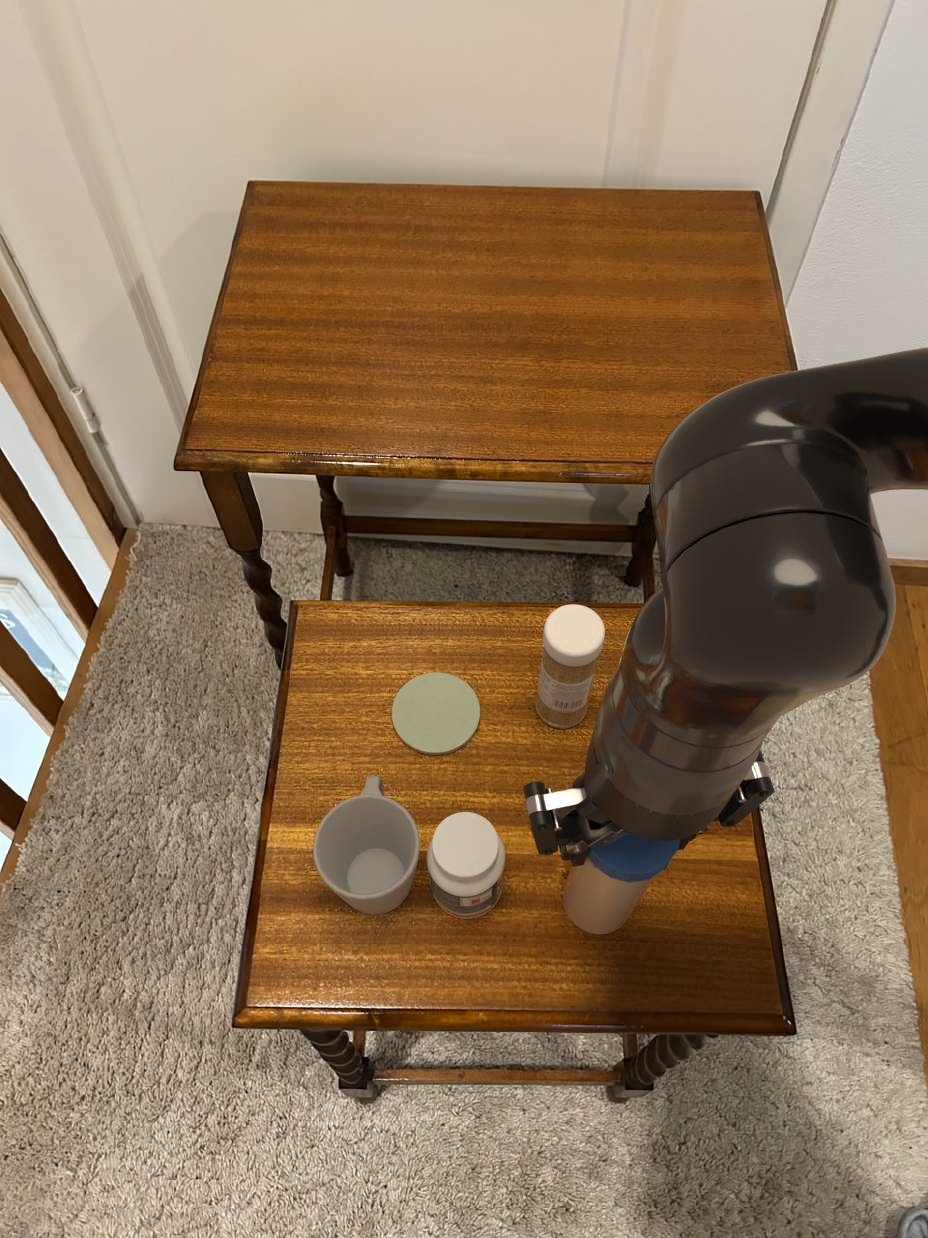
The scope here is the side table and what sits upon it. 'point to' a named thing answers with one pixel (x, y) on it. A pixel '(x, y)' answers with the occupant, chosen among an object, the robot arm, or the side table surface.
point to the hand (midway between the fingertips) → (623, 843)
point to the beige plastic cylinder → (599, 898)
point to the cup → (368, 850)
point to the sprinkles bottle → (568, 664)
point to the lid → (633, 857)
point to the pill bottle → (466, 865)
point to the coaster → (436, 713)
